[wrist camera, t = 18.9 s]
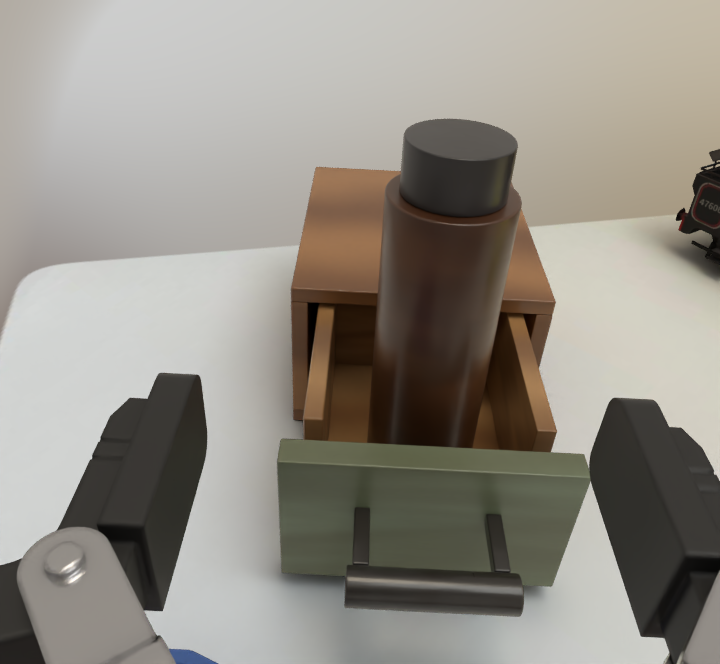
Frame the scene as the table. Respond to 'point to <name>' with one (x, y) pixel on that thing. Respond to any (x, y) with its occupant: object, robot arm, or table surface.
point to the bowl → (189, 657)
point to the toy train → (705, 208)
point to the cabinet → (362, 261)
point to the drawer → (426, 485)
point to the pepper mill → (441, 281)
